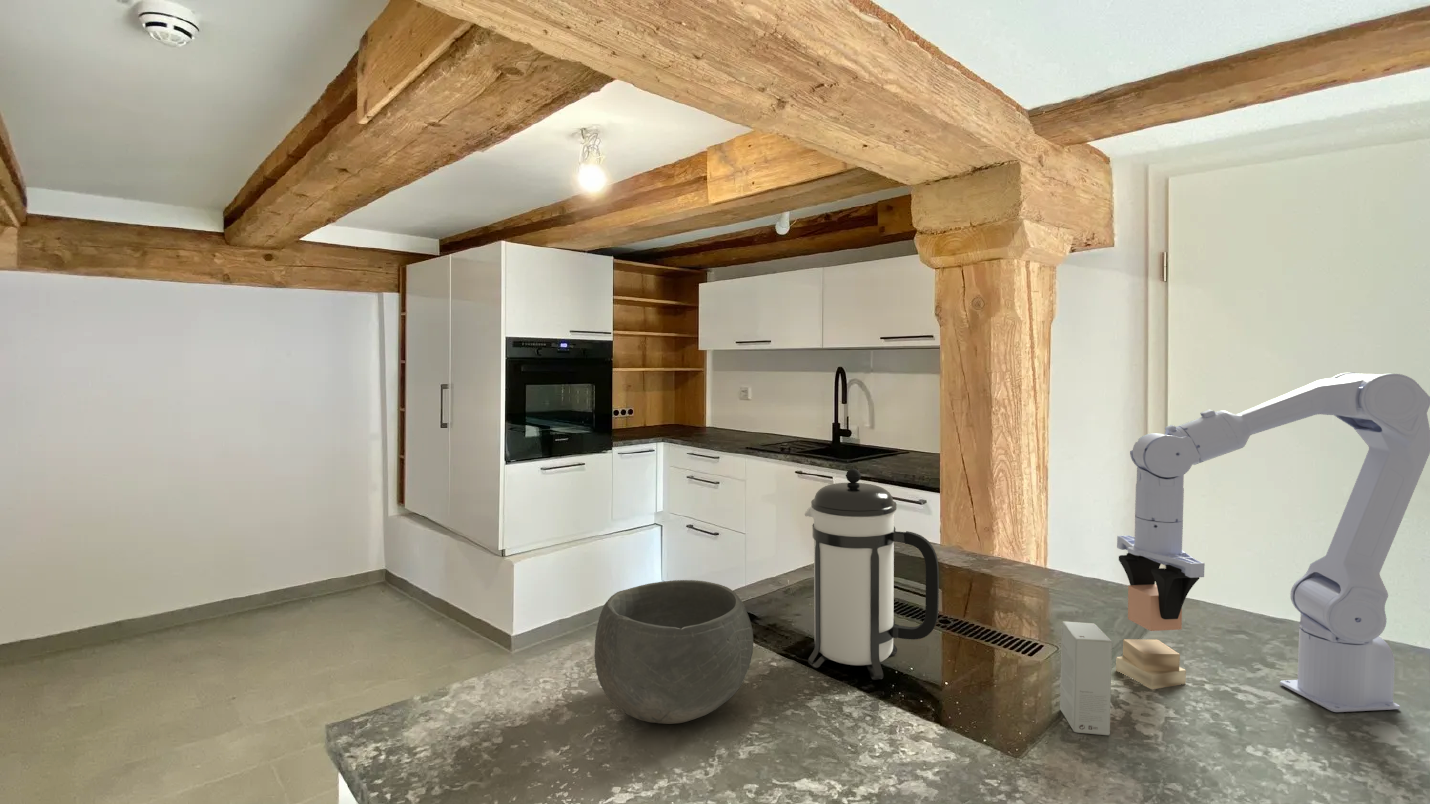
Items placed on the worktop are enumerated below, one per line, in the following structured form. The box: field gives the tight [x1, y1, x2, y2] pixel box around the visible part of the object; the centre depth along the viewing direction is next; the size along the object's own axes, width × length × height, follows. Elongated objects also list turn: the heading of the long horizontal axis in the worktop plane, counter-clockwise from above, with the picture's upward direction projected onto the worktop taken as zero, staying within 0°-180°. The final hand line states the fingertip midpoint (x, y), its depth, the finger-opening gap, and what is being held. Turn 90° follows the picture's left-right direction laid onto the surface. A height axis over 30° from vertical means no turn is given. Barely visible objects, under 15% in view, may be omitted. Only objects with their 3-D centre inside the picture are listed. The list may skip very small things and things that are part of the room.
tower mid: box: [1122, 638, 1181, 671], centre depth 97 cm, size 5×5×2 cm
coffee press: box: [804, 468, 940, 681], centre depth 103 cm, size 17×16×30 cm
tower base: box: [1115, 655, 1187, 690], centre depth 97 cm, size 6×6×2 cm
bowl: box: [594, 579, 754, 725], centre depth 90 cm, size 21×21×15 cm
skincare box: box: [1059, 620, 1113, 736], centre depth 85 cm, size 6×4×12 cm
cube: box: [1127, 583, 1183, 632], centre depth 96 cm, size 5×5×5 cm
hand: (1155, 611), depth 96 cm, fingers closed on cube, 5 cm apart
